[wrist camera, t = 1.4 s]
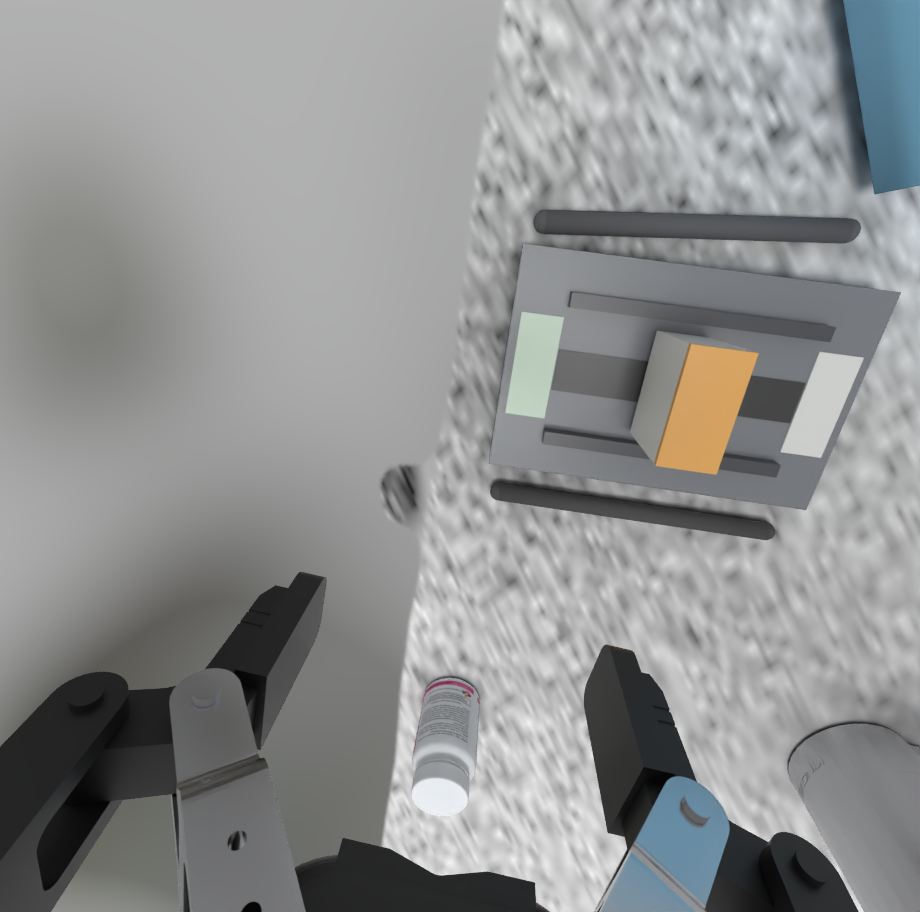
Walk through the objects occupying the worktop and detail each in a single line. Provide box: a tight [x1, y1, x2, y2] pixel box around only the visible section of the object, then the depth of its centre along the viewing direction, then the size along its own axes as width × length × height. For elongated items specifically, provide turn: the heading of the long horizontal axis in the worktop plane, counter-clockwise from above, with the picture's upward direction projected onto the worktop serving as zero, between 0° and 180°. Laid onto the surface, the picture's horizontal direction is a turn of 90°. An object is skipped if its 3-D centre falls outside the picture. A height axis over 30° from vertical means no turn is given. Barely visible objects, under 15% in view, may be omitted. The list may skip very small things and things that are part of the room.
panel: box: [489, 244, 901, 510], centre depth 29 cm, size 20×13×3 cm, turn 83°
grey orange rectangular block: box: [630, 331, 759, 475], centre depth 25 cm, size 3×6×5 cm, turn 173°
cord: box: [534, 210, 861, 243], centre depth 26 cm, size 17×1×1 cm, turn 88°
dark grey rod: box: [490, 483, 775, 540], centre depth 33 cm, size 19×1×1 cm, turn 83°
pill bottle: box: [411, 678, 480, 816], centre depth 37 cm, size 5×5×8 cm
